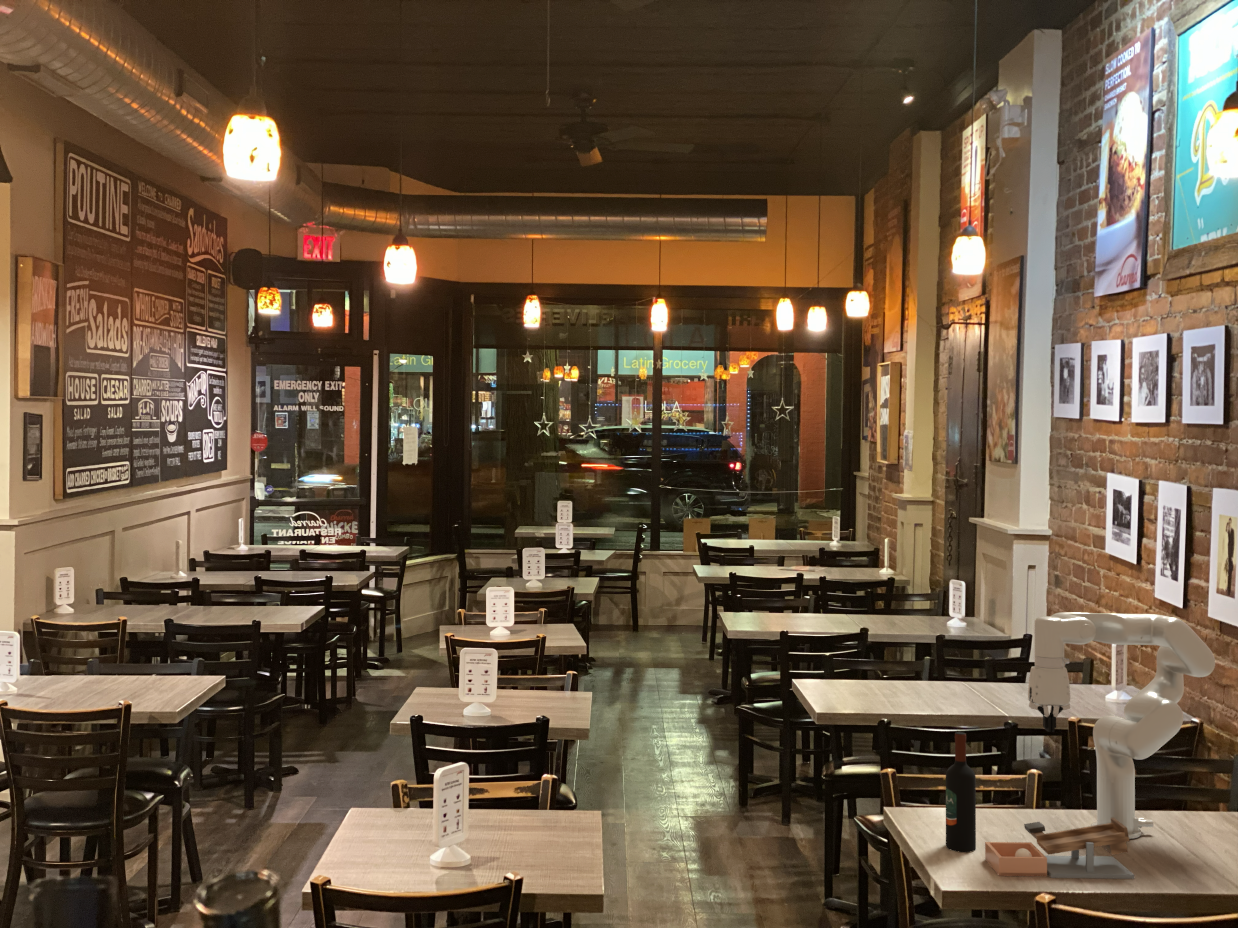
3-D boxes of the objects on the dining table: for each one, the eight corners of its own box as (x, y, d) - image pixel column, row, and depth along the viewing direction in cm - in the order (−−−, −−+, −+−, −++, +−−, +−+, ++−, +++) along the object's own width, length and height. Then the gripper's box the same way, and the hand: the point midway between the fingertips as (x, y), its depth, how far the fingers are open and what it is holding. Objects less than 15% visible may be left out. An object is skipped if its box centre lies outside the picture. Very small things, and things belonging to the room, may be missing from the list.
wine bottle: (971, 853, 289) (971, 737, 289) (942, 848, 293) (942, 734, 293) (979, 845, 295) (978, 732, 295) (950, 840, 299) (950, 728, 299)
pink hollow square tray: (1031, 859, 284) (1031, 842, 284) (1047, 876, 273) (1047, 857, 273) (985, 859, 285) (985, 841, 285) (999, 875, 273) (999, 857, 273)
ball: (1023, 864, 281) (1031, 851, 280) (1028, 870, 277) (1037, 856, 276) (1009, 856, 281) (1018, 842, 281) (1014, 861, 277) (1023, 848, 277)
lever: (1103, 830, 291) (1099, 806, 291) (1131, 853, 274) (1126, 827, 274) (1027, 843, 291) (1023, 819, 291) (1050, 866, 274) (1045, 840, 274)
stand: (1112, 859, 284) (1112, 828, 284) (1134, 878, 271) (1134, 845, 271) (1033, 858, 285) (1032, 827, 285) (1051, 877, 272) (1050, 844, 272)
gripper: (1072, 660, 305) (1072, 727, 305) (1017, 660, 305) (1017, 727, 305) (1082, 665, 297) (1082, 734, 297) (1026, 664, 298) (1026, 733, 298)
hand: (1049, 730), depth 301 cm, fingers closed
